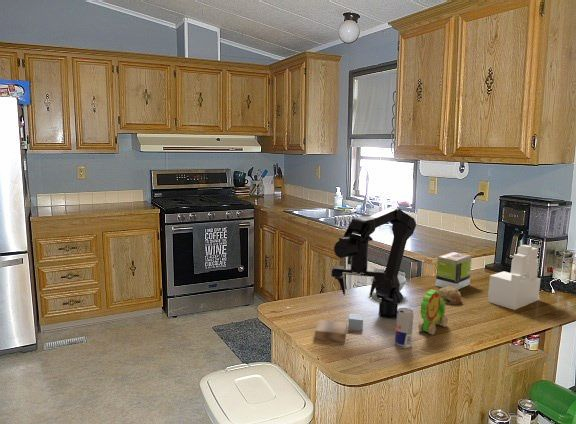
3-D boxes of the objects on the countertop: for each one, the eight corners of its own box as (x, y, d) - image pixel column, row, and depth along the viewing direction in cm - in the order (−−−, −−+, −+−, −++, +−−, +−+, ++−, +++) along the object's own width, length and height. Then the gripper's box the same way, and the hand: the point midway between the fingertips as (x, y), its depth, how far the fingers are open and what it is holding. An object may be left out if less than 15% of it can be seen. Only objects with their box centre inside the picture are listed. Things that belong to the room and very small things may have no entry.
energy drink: (392, 341, 153) (394, 307, 151) (407, 341, 154) (410, 307, 152) (397, 348, 148) (400, 313, 146) (413, 348, 149) (416, 313, 147)
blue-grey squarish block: (362, 325, 167) (363, 315, 166) (362, 330, 162) (363, 320, 161) (349, 324, 167) (349, 313, 167) (348, 329, 163) (348, 318, 162)
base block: (346, 330, 161) (347, 322, 161) (344, 342, 151) (345, 333, 151) (318, 327, 163) (318, 319, 163) (314, 339, 153) (315, 330, 153)
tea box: (450, 280, 226) (453, 251, 223) (470, 285, 218) (472, 255, 216) (434, 286, 215) (437, 255, 213) (454, 291, 208) (457, 260, 206)
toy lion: (434, 321, 172) (437, 282, 170) (448, 325, 168) (451, 286, 166) (414, 333, 161) (417, 292, 158) (428, 338, 157) (432, 296, 155)
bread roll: (435, 308, 196) (435, 295, 192) (437, 292, 204) (438, 279, 199) (459, 312, 192) (461, 298, 188) (461, 295, 200) (462, 282, 196)
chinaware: (392, 287, 211) (393, 271, 210) (411, 298, 197) (412, 281, 196) (363, 290, 205) (364, 274, 204) (381, 301, 192) (382, 284, 190)
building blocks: (514, 310, 187) (521, 250, 183) (487, 301, 196) (493, 245, 192) (538, 300, 200) (544, 244, 196) (511, 292, 209) (517, 239, 205)
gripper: (386, 250, 166) (383, 291, 169) (335, 246, 170) (333, 286, 172) (386, 258, 156) (383, 301, 158) (332, 253, 159) (330, 296, 162)
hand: (357, 296), depth 163 cm, fingers open, 9 cm apart
